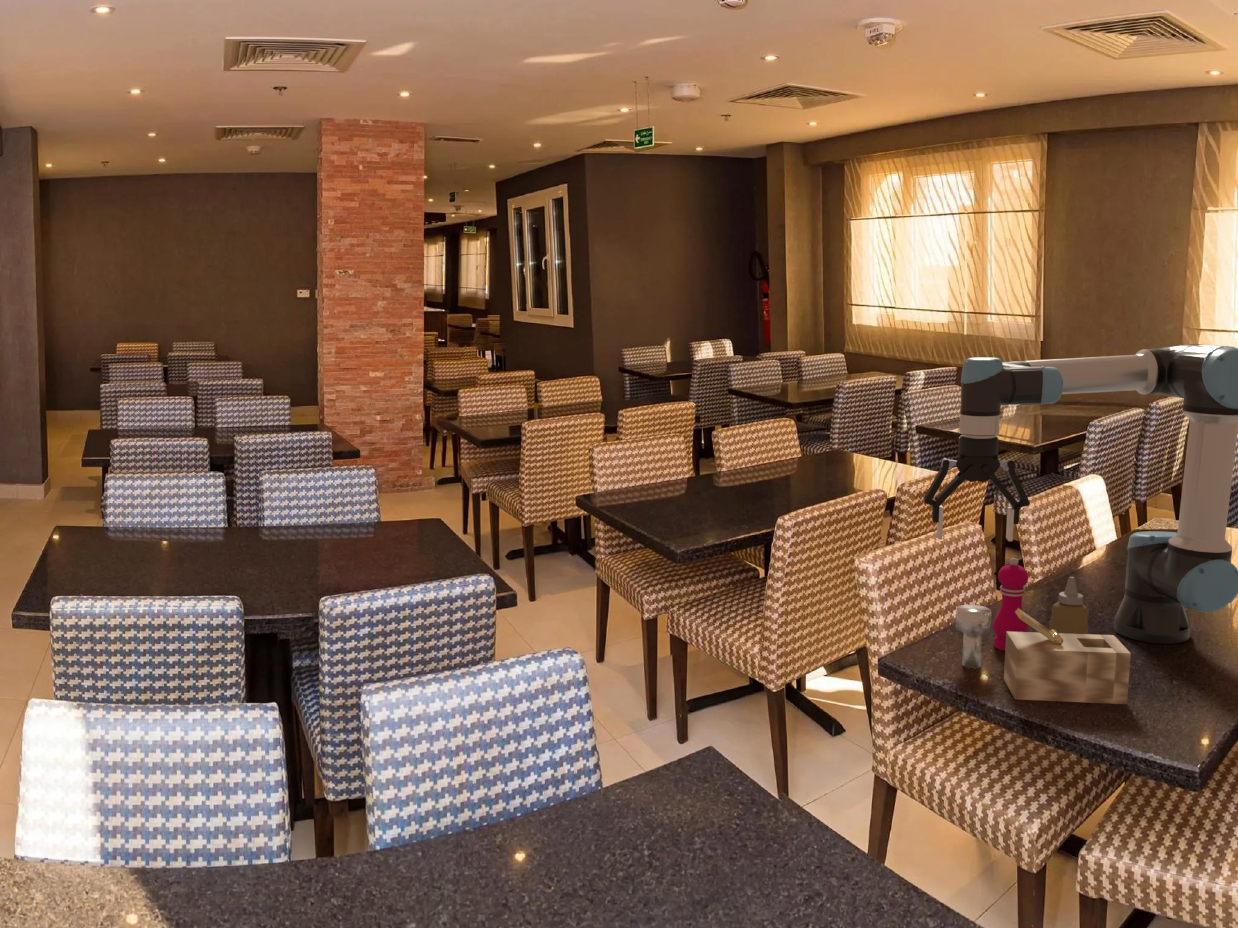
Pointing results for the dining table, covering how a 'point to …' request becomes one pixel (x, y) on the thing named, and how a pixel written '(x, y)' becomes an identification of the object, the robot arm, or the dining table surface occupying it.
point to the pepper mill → (1010, 602)
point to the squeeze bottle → (1070, 611)
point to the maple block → (1067, 668)
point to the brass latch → (1040, 627)
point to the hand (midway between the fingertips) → (974, 538)
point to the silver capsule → (973, 631)
